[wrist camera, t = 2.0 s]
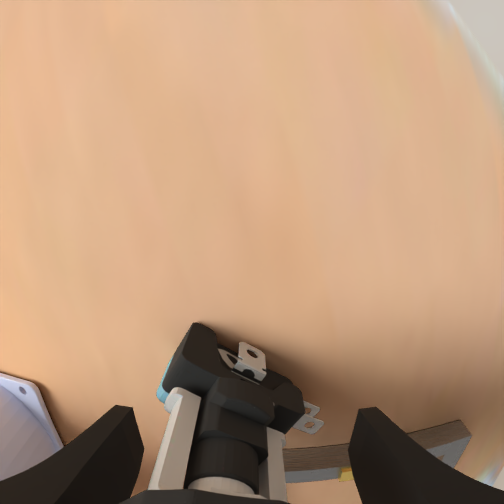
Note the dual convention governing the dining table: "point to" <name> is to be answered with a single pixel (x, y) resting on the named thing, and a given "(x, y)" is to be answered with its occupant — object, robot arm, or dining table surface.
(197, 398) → the push button
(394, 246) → the dining table surface
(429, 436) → the frame
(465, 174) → the dining table surface
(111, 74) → the dining table surface
